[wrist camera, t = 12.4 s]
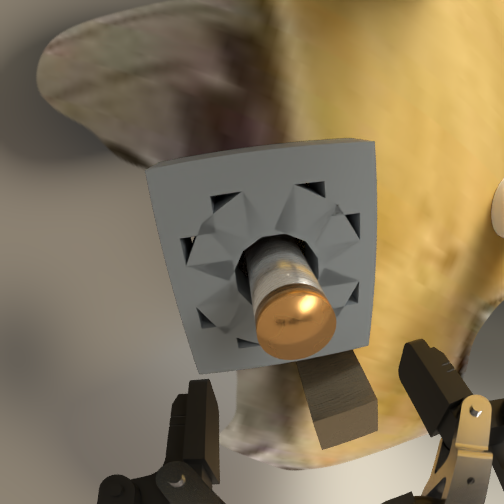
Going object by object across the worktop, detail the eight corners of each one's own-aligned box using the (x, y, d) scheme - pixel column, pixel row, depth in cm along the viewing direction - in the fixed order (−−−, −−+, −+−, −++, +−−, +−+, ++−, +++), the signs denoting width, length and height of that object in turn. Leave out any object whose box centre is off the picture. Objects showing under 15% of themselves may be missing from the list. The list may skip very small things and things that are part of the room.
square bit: (291, 346, 28) (313, 422, 20) (342, 329, 28) (377, 399, 19) (302, 379, 30) (322, 449, 22) (347, 364, 30) (377, 430, 21)
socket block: (158, 162, 21) (144, 170, 17) (350, 138, 21) (374, 141, 17) (201, 343, 27) (199, 374, 23) (352, 318, 27) (368, 345, 24)
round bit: (241, 230, 23) (252, 302, 14) (294, 223, 23) (337, 289, 14) (248, 277, 25) (261, 365, 15) (297, 270, 25) (335, 352, 16)
